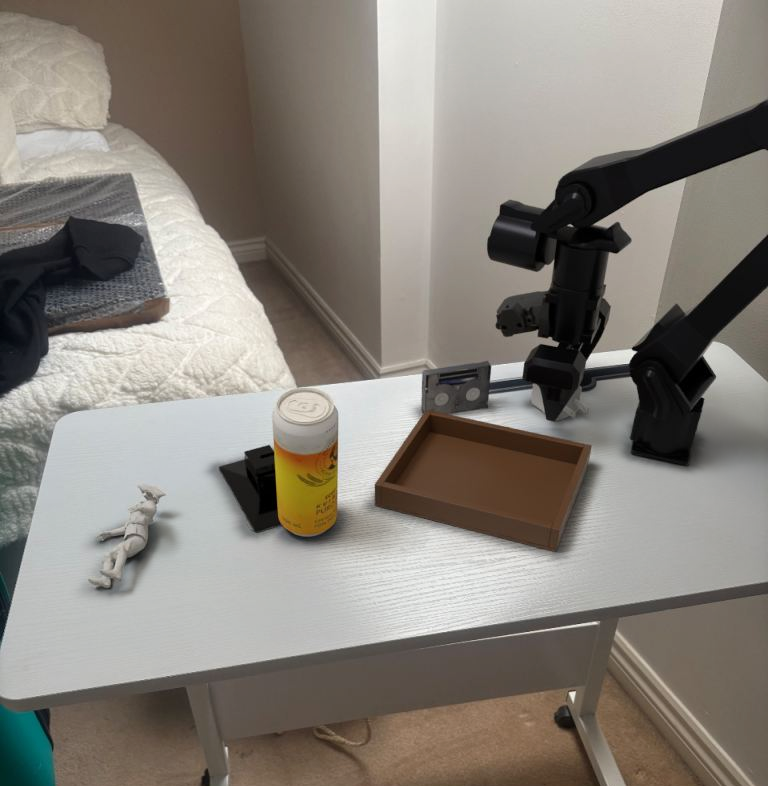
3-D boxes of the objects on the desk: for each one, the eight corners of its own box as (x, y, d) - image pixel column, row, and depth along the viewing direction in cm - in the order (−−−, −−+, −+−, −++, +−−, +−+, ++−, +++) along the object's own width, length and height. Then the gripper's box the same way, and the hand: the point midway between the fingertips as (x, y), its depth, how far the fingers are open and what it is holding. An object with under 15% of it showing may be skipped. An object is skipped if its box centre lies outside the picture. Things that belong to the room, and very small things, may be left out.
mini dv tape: (483, 401, 104) (486, 359, 101) (487, 407, 103) (491, 365, 99) (421, 411, 103) (422, 368, 99) (424, 417, 102) (426, 374, 98)
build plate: (318, 514, 88) (316, 479, 85) (252, 535, 85) (247, 499, 82) (277, 452, 96) (273, 419, 93) (216, 469, 94) (210, 435, 91)
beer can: (328, 545, 84) (329, 431, 73) (270, 534, 84) (262, 419, 74) (343, 504, 88) (345, 390, 77) (288, 494, 89) (282, 380, 78)
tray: (588, 465, 94) (592, 444, 92) (555, 552, 83) (559, 530, 81) (425, 429, 100) (426, 409, 98) (374, 505, 88) (374, 484, 87)
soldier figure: (72, 591, 80) (102, 488, 87) (118, 608, 83) (144, 507, 89) (109, 566, 75) (138, 458, 82) (157, 584, 78) (181, 479, 84)
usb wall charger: (555, 396, 105) (559, 369, 103) (592, 422, 100) (597, 394, 98) (530, 405, 104) (533, 377, 101) (566, 432, 99) (571, 403, 96)
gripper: (528, 240, 101) (516, 354, 111) (482, 303, 88) (473, 426, 98) (620, 253, 98) (599, 370, 108) (587, 321, 84) (567, 447, 94)
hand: (559, 401), depth 102 cm, fingers open, 9 cm apart
